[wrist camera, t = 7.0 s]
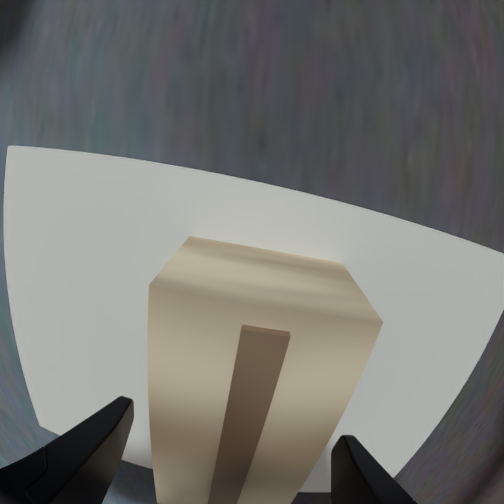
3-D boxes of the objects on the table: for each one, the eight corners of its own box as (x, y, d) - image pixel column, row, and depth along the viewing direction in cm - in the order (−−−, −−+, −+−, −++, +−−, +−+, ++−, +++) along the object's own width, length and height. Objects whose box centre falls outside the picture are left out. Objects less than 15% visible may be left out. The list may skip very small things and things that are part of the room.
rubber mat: (516, 258, 10) (521, 261, 10) (381, 484, 15) (382, 489, 15) (14, 145, 9) (7, 145, 9) (42, 421, 14) (40, 425, 14)
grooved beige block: (277, 452, 13) (279, 523, 9) (174, 437, 13) (156, 506, 9) (341, 262, 10) (386, 326, 6) (189, 235, 10) (145, 288, 6)
